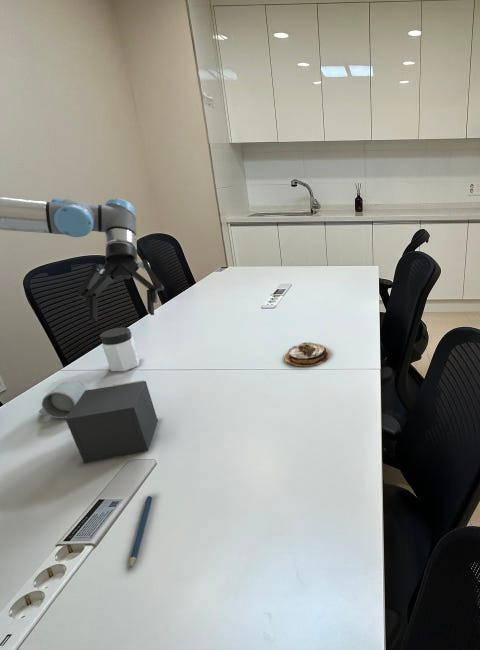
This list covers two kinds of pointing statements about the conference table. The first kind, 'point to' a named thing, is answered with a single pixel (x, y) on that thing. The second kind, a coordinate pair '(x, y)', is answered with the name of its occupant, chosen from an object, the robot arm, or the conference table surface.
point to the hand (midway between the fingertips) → (122, 316)
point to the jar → (120, 349)
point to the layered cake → (307, 354)
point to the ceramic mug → (62, 399)
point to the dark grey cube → (113, 421)
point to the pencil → (140, 531)
